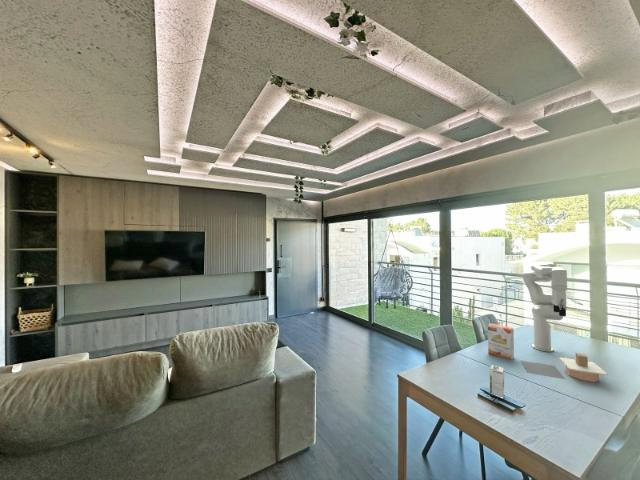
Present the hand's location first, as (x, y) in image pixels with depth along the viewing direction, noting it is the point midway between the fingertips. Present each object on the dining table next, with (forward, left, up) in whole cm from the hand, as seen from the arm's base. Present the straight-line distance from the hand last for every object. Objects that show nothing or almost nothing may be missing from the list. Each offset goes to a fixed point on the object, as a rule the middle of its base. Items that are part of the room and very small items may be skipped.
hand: (559, 313), depth 168 cm
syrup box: (+57, -42, -33) cm, 78 cm away
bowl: (+13, +6, -33) cm, 36 cm away
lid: (+13, +6, -27) cm, 31 cm away
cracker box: (0, -32, -34) cm, 46 cm away
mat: (+13, -13, -33) cm, 38 cm away
